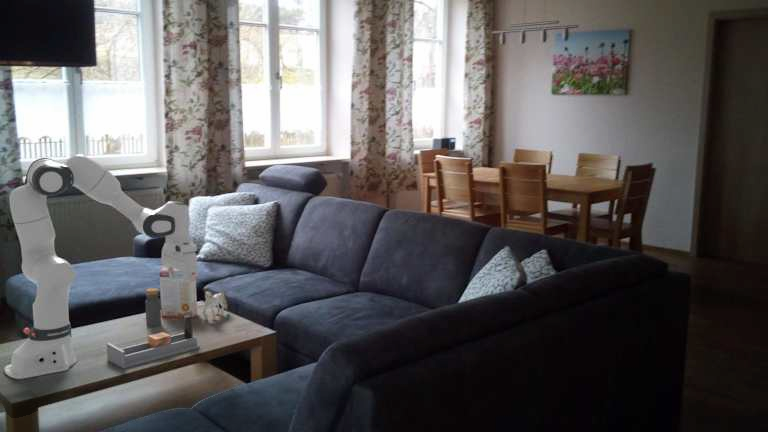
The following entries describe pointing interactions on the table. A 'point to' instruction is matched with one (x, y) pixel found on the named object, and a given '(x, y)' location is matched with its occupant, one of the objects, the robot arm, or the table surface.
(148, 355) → the board
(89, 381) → the table surface
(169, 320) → the table surface
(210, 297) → the unicorn figurine
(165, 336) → the block and post stand
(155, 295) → the bottle
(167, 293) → the cracker box
